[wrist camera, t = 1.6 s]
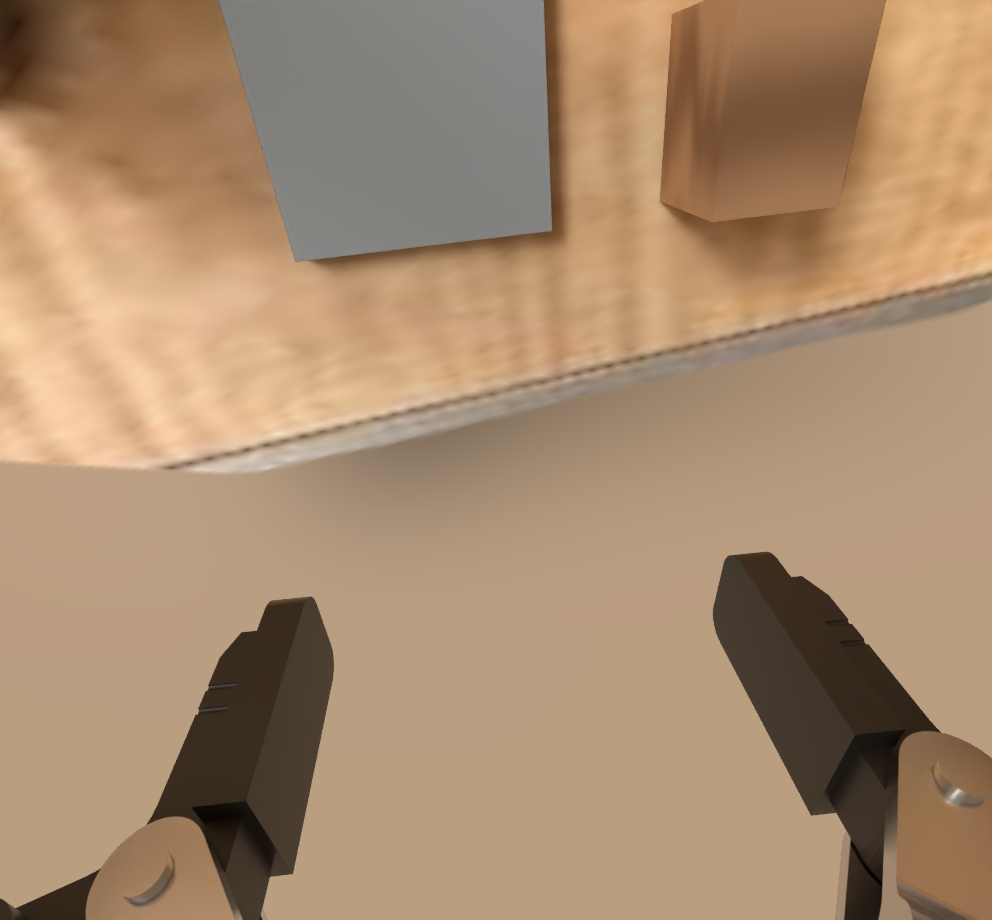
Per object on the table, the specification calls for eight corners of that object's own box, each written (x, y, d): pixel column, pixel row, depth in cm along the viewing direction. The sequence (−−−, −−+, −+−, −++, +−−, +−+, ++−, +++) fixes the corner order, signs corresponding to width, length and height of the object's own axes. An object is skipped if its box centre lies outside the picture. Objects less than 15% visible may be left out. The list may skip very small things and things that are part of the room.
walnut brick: (671, 14, 22) (740, -15, 17) (790, 1, 22) (893, -33, 17) (659, 201, 26) (711, 222, 21) (760, 189, 26) (837, 206, 21)
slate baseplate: (200, -94, 19) (187, -105, 18) (533, -130, 19) (538, -144, 18) (300, 256, 26) (295, 261, 25) (547, 226, 26) (552, 230, 25)
